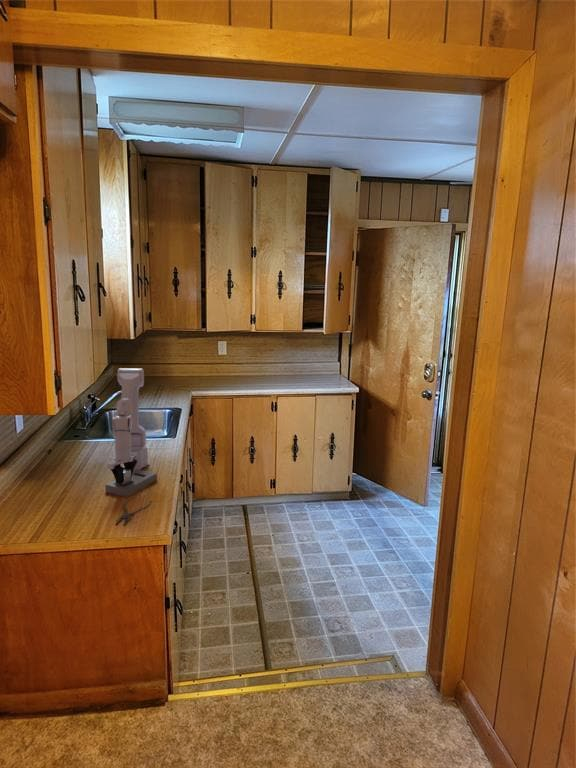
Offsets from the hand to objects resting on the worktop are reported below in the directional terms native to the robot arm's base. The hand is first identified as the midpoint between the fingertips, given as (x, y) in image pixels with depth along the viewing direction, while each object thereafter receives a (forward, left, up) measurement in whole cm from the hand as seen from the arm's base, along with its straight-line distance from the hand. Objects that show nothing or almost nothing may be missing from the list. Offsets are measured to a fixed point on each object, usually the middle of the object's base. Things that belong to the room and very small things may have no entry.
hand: (124, 480), depth 185 cm
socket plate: (-4, 0, -4) cm, 6 cm away
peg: (0, 0, -4) cm, 4 cm away
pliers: (+13, +15, -4) cm, 20 cm away
